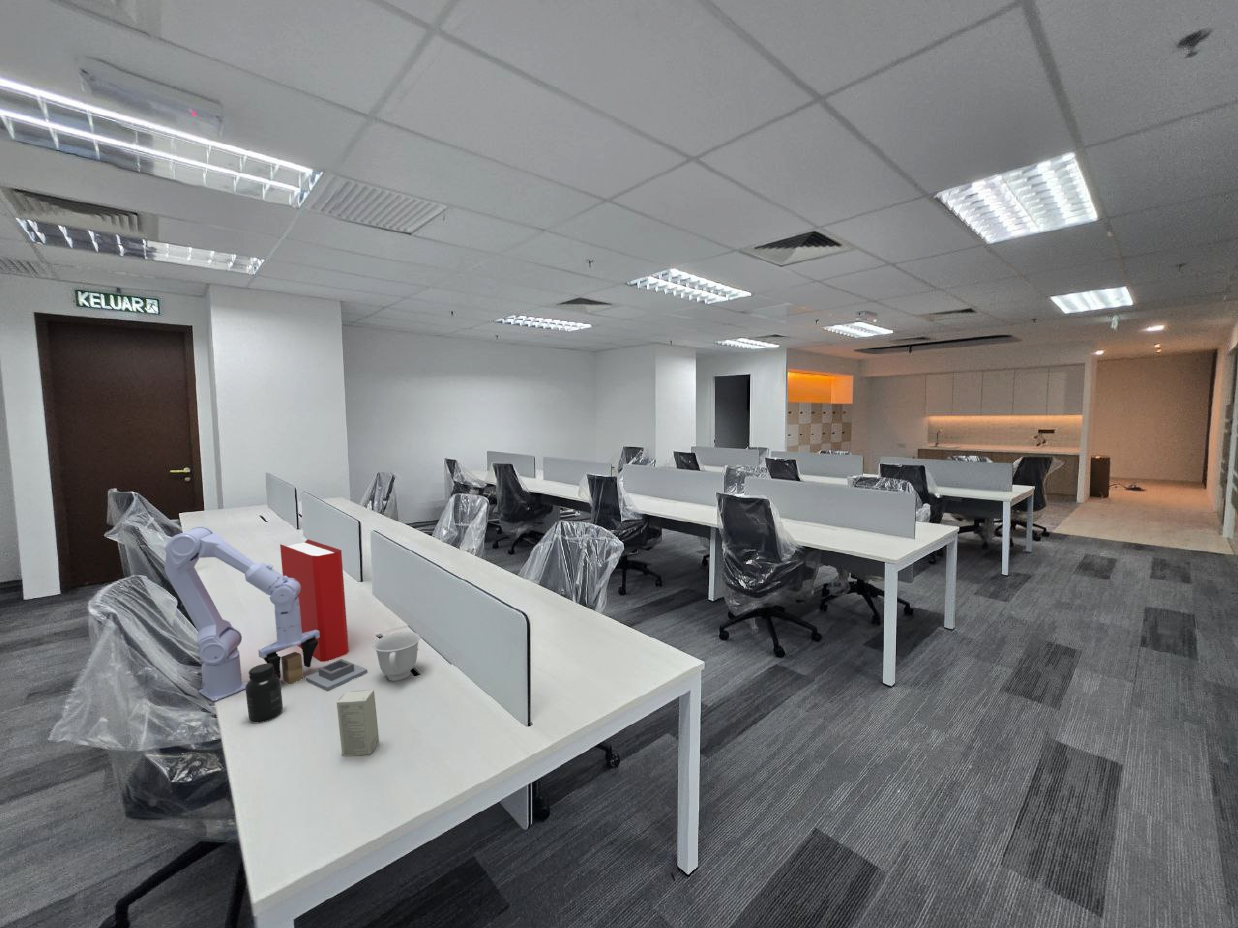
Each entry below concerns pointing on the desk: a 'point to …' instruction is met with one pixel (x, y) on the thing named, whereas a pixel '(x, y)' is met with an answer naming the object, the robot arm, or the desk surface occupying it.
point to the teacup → (397, 654)
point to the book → (319, 594)
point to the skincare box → (358, 722)
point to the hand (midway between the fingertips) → (292, 672)
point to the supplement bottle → (263, 693)
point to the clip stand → (335, 674)
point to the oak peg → (292, 667)
